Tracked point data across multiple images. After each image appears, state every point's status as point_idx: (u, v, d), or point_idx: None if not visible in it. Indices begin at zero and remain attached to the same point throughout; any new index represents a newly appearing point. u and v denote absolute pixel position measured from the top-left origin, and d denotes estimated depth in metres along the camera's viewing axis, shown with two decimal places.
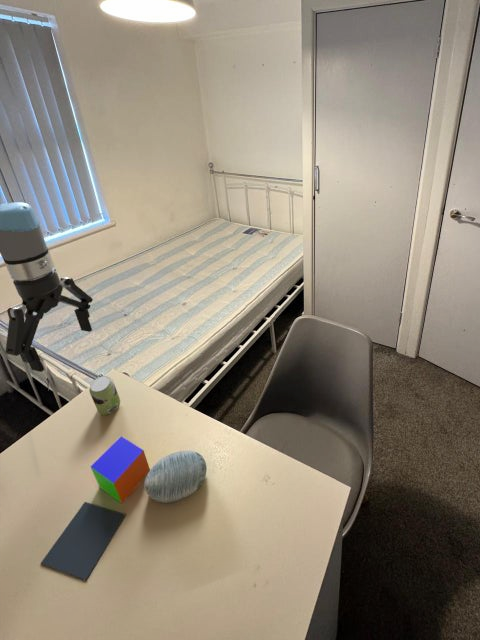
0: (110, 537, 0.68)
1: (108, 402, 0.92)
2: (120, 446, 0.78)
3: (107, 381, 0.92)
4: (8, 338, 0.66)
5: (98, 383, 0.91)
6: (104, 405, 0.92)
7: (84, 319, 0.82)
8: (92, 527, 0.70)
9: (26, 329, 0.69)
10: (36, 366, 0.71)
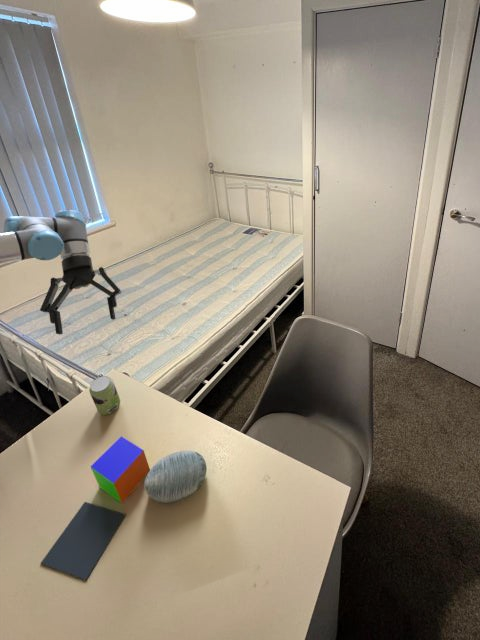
0: (110, 537, 0.68)
1: (108, 402, 0.92)
2: (120, 446, 0.78)
3: (107, 381, 0.92)
4: (113, 282, 0.98)
5: (98, 383, 0.91)
6: (104, 405, 0.92)
7: (60, 320, 0.93)
8: (92, 527, 0.70)
9: (102, 286, 0.98)
10: (114, 314, 0.97)
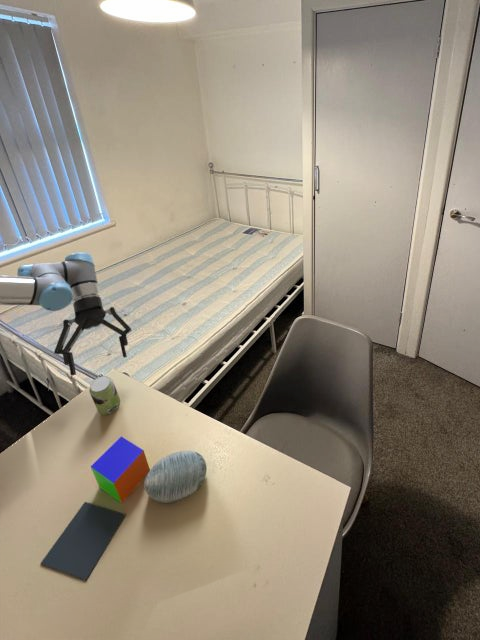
0: (110, 537, 0.68)
1: (108, 402, 0.92)
2: (120, 446, 0.78)
3: (107, 381, 0.92)
4: None
5: (98, 383, 0.91)
6: (104, 405, 0.92)
7: (73, 360, 0.96)
8: (92, 527, 0.70)
9: (113, 325, 1.02)
10: (125, 352, 1.01)
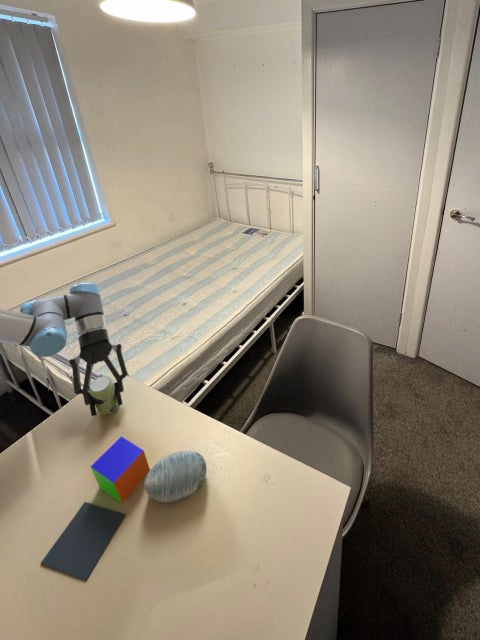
0: (110, 537, 0.68)
1: (108, 402, 0.92)
2: (120, 446, 0.78)
3: (107, 381, 0.92)
4: (124, 364, 0.97)
5: (98, 384, 0.91)
6: (103, 405, 0.92)
7: None
8: (92, 527, 0.70)
9: None
10: (121, 399, 0.95)
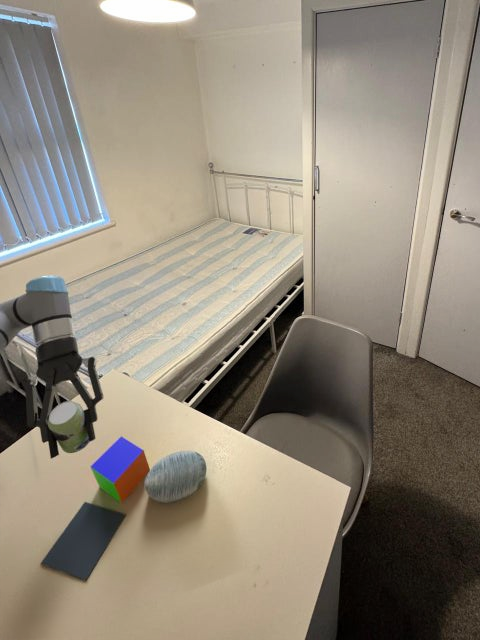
0: (110, 537, 0.68)
1: (75, 438, 0.68)
2: (120, 446, 0.78)
3: (73, 408, 0.67)
4: (98, 384, 0.73)
5: (61, 413, 0.66)
6: (68, 441, 0.67)
7: None
8: (92, 527, 0.70)
9: (84, 387, 0.72)
10: (93, 432, 0.70)
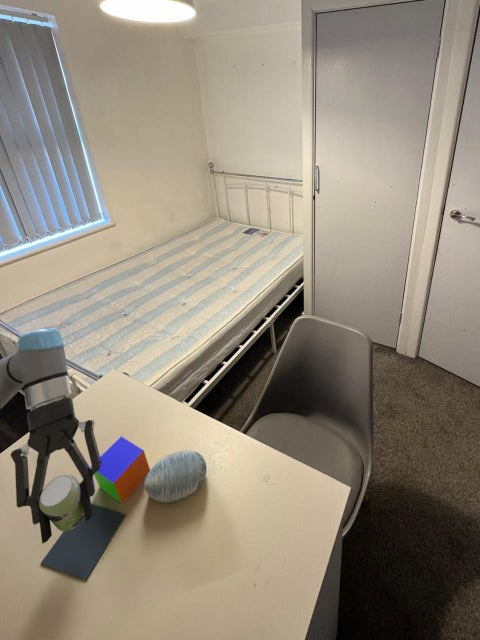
0: (110, 537, 0.68)
1: (70, 517, 0.61)
2: (120, 446, 0.78)
3: (67, 484, 0.61)
4: (96, 451, 0.66)
5: (54, 491, 0.60)
6: (62, 521, 0.61)
7: None
8: (92, 527, 0.70)
9: (80, 455, 0.65)
10: (90, 507, 0.63)
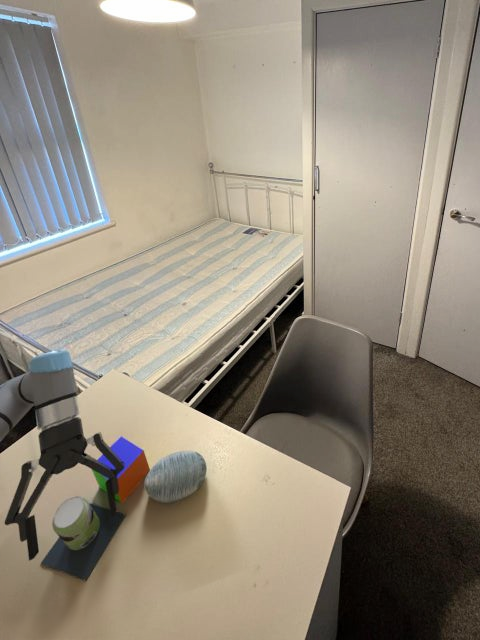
0: (110, 537, 0.68)
1: (81, 537, 0.64)
2: (120, 446, 0.78)
3: (79, 506, 0.64)
4: (114, 455, 0.70)
5: (66, 512, 0.63)
6: (74, 541, 0.64)
7: (35, 529, 0.63)
8: None
9: (98, 462, 0.70)
10: (115, 504, 0.68)
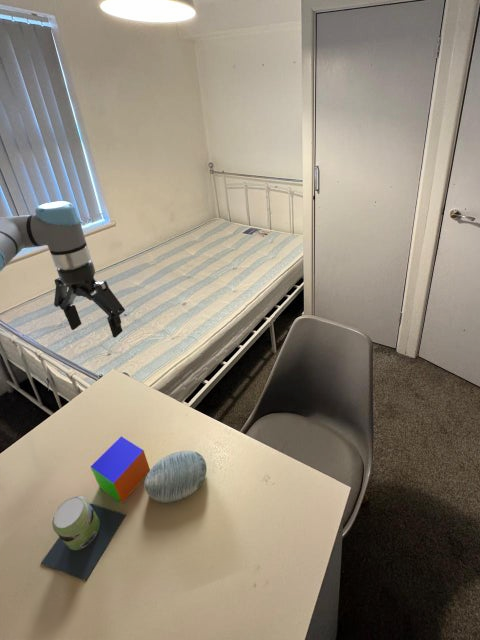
0: (110, 537, 0.68)
1: (81, 537, 0.64)
2: (120, 446, 0.78)
3: (79, 506, 0.64)
4: (112, 304, 0.82)
5: (66, 512, 0.63)
6: (74, 541, 0.64)
7: (76, 313, 0.89)
8: None
9: (104, 301, 0.83)
10: (119, 328, 0.87)
